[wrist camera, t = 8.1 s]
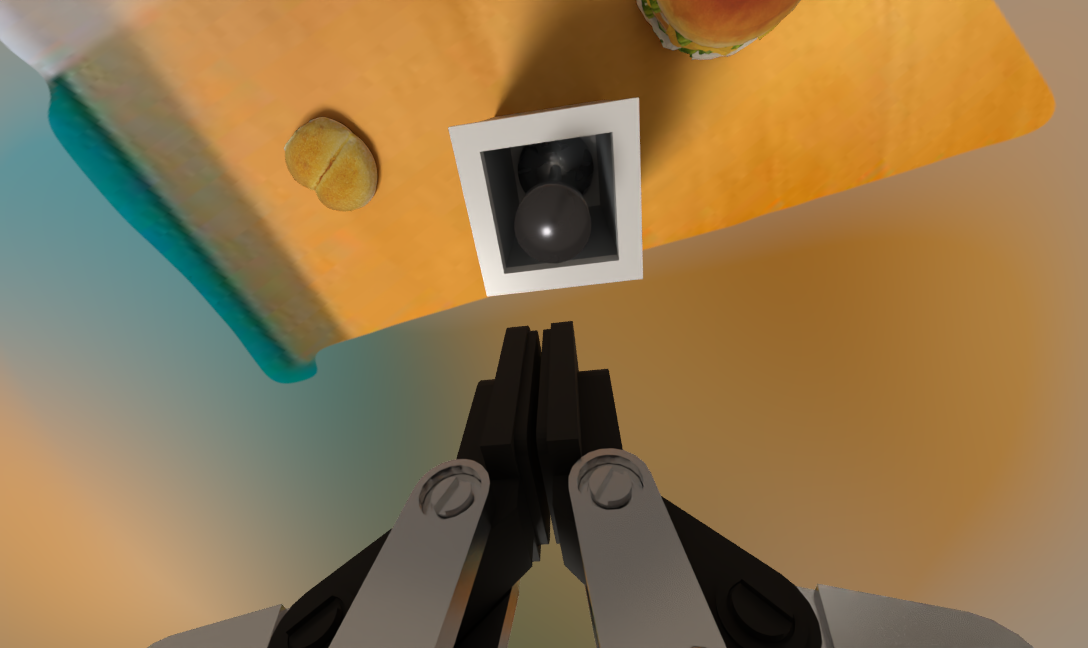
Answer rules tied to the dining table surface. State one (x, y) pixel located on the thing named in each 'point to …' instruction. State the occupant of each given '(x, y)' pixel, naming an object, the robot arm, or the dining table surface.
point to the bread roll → (332, 164)
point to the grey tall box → (610, 198)
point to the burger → (713, 23)
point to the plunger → (554, 199)
